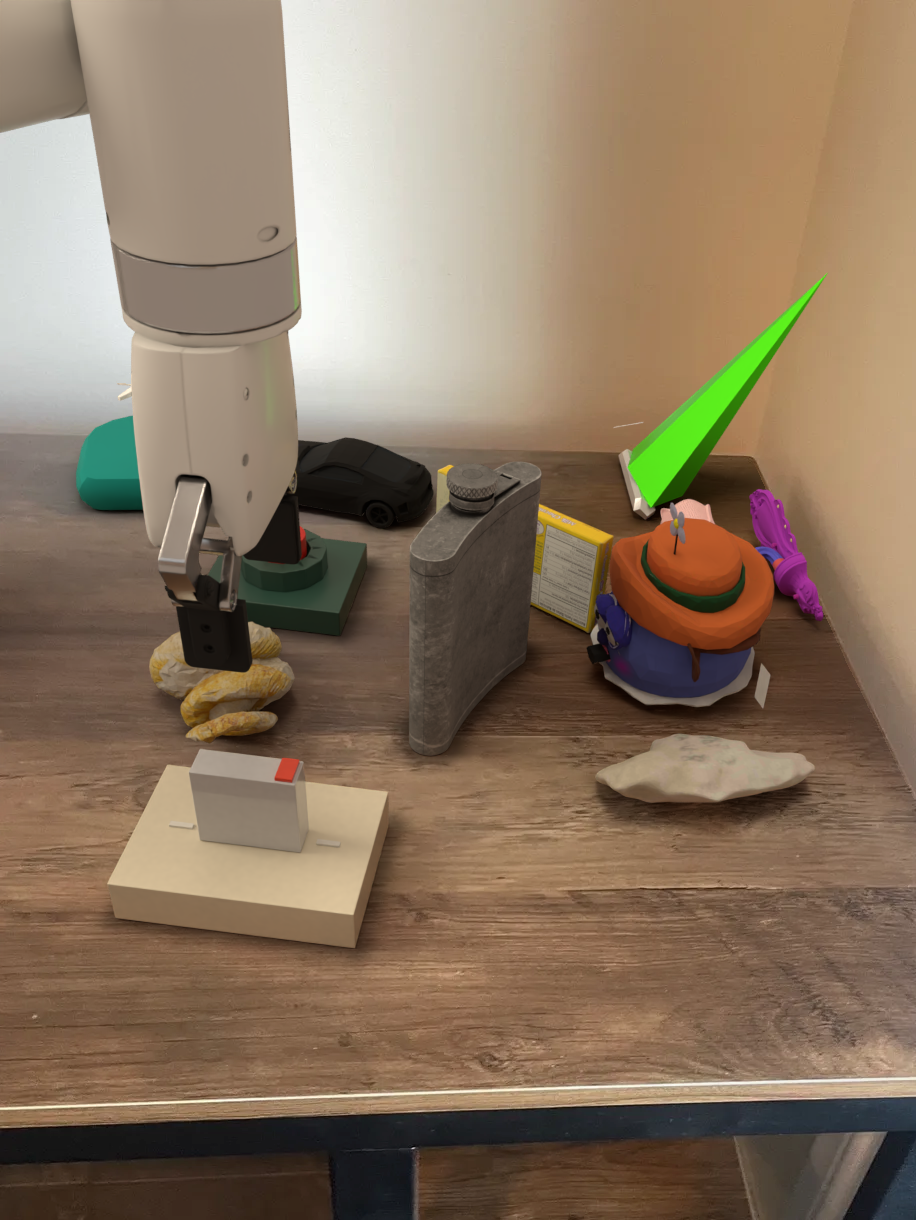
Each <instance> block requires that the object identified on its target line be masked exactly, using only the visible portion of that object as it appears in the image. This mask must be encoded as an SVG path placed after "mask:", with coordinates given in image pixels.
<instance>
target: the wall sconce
mask: <svg viewBox="0 0 916 1220" xmlns="http://www.w3.org/2000/svg"><path fill="white" fill-rule="evenodd" d="M749 501H750V502H749V506H750V510H749V511H750V515H751V517H752V519H751V520H752V527H753V531H754V534H755V536H756V538H757V539H758V541H759V542H760V546H757V547H754V548H755V549H756V550H757V551H758V552H759V553H760V554H761V555H762V556H763V557H764V558H765V560H767V561H769V562H770V564H771V566H772V568H773V570H774V572H773V581H774V583H775V584H776V586H777V588H778V590H779V591H780V592H781V594H783V595H785V596H788V597H792V598H793V600H796V602H797V603H798V605H799V608H800V609H801V611H802V612H803V613H804V614H807V615H808V614H809V615H813V616H814V618H815V621H817V622H822V621H823V620H824V613H823V612H824V611H823V605H820V598H819V592H818V588H817V586H816V584H815V582H813V581H812V580H811V578H809V575H808V561H807V560H806V557H805V555H804V554H803V552H802V551H801V552H800V551H799V549H798V544H797V538H796V536H795V535H794V534H793V533H792V532H791V531H792V530H791V524H790V521H789V519H788V518H786V516H785V515H786V514H785V507H784V503H783V502H782V500H781V499H779V498H778V499H776V498H775V496H774V494H773V493H772V492H771V491H770V490H769V489H762V488H761V489H760V488H758V489H756V490H755V491H753V492H752V493H750V495H749ZM674 505H675V507H676V509H677V513H678V514H679V512H681V511H682V512H683V514H684V518H693V519H704V520H707V521H709V522H711V523H713V524H715V525H716V523H715V521H714V517H713V515H712V510H711V505H710V504H709V503H707V504H703V503H701V502H699V501H697V500H695V499H693V498H687V499H683V500H680V501H679V502H677V503H675V504H674ZM660 518H661V521H660V524H662V523H663V522H666V521H670V520H673V518H672V516H671V512H670V508H667V507H666V508H665V507H663V508H661V509H660ZM660 524H659V525H660Z"/></svg>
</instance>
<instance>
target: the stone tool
mask: <svg viewBox="0 0 916 1220" xmlns="http://www.w3.org/2000/svg"><path fill="white" fill-rule="evenodd" d="M815 770H816V766H815V765H814V764H813V763H812V762H810V761H808V760H807V757H806V756H805V755H803V754H802V753H797V752H773V751H763V750H756V749H750V748H749V746H748V745H747V743H746V742H745V741H742V740H737V739H727V738H724V737H718V736H712V735H700V734H699V735H695V734H694V735H691V734H685V733H674V734H672V735H669V736H666V737H663V738H657V739H654V740H653V741H652V743H651V745H650V748H649V750H648V751H645V752H642V753H639V754H637V755H634V756H632V757H630V758H628V759H625V760H623V761H621V762H618V763H614V764H611V765H608V766H606V767H604V768H602V769H601V770H599V771H597V773H595V776H594V777H595V780H596V781H597V782H598V783H600V784H602V785H605V786H607V787H610V788H611V789H612V790H613V791H615V792H616V793H618V794H620V795H622V796H623V797H626V798H629V799H636V800H639V801H642V802H645V803H649V804H652V803H721V802H725V801H727V800H732V799H737V798H743V797H750V796H754V795H759V794H762V793H767V792H773V791H778V790H783V789H788V788H791V787H794V786H796V785H799V783H801V782H803V781H804V780H805V779H806V778H808V777H809V776H811V775H812V774H813V773H814V772H815Z"/></svg>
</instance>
